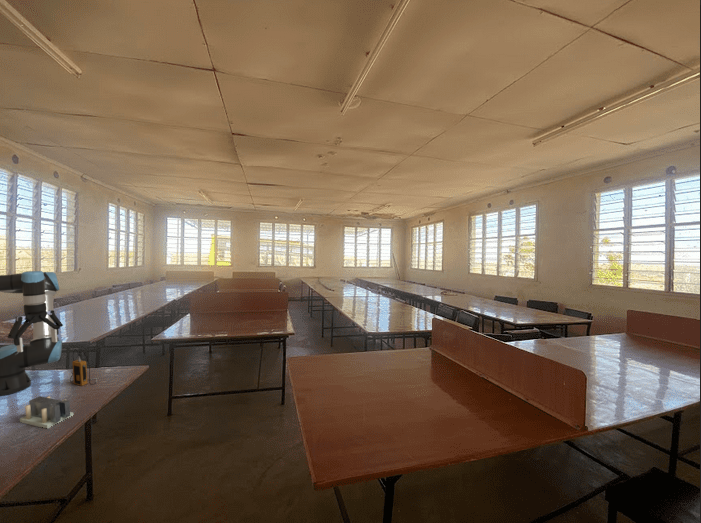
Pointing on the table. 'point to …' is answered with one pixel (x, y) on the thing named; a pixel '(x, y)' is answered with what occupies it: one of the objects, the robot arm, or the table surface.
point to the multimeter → (80, 371)
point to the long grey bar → (50, 408)
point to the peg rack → (39, 421)
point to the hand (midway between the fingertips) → (38, 346)
